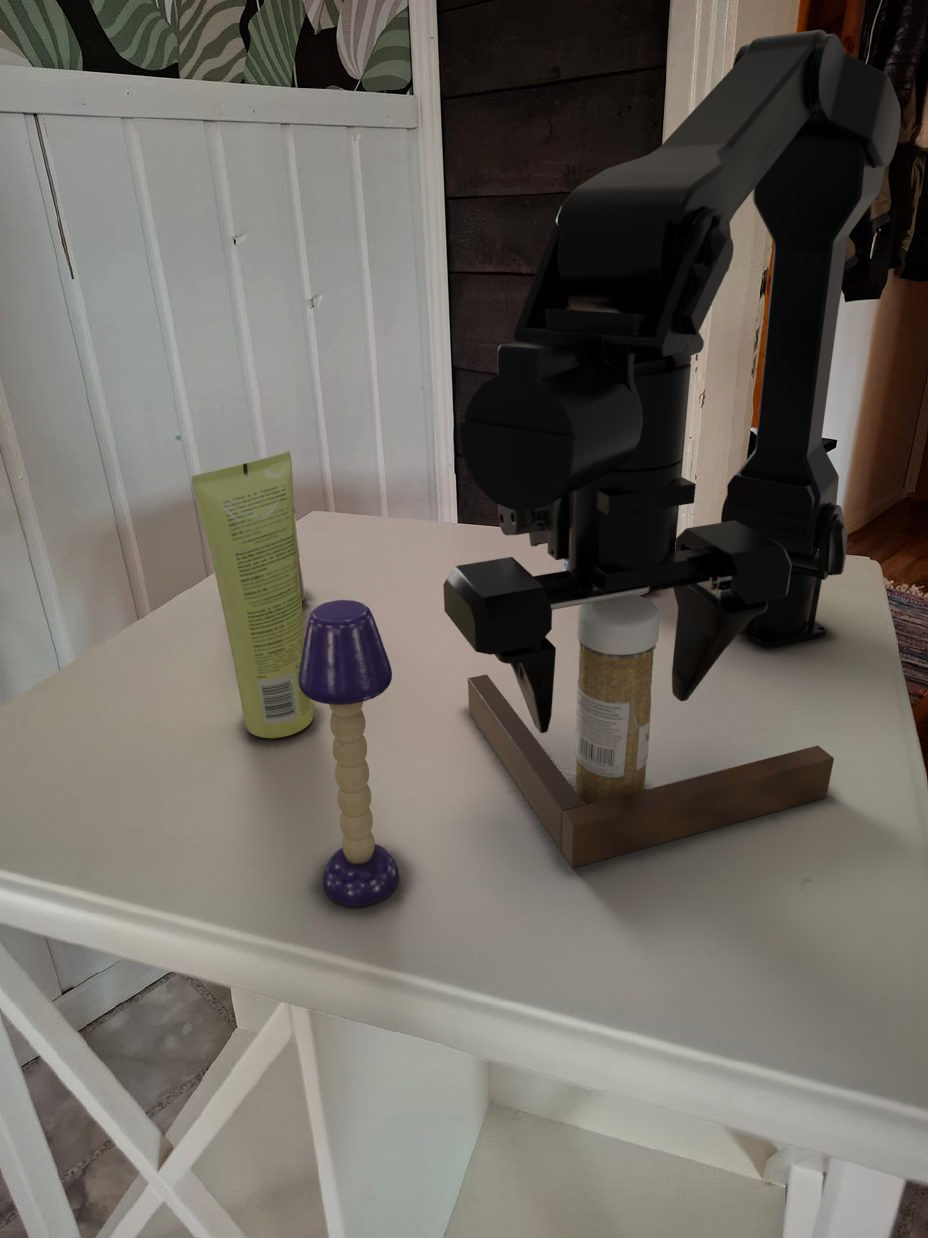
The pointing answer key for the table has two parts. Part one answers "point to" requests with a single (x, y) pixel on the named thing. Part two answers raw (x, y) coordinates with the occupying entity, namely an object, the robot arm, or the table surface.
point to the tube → (259, 587)
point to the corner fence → (644, 812)
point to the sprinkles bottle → (614, 696)
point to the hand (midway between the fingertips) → (611, 713)
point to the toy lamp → (349, 740)
